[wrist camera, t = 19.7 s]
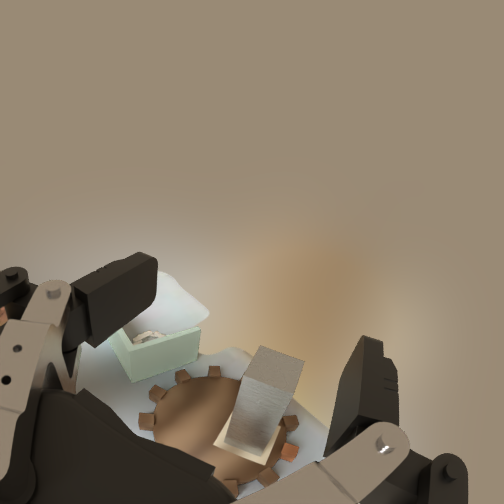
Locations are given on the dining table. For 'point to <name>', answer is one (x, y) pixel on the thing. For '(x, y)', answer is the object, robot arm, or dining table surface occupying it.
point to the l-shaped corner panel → (155, 352)
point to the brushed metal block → (262, 399)
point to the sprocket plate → (213, 428)
